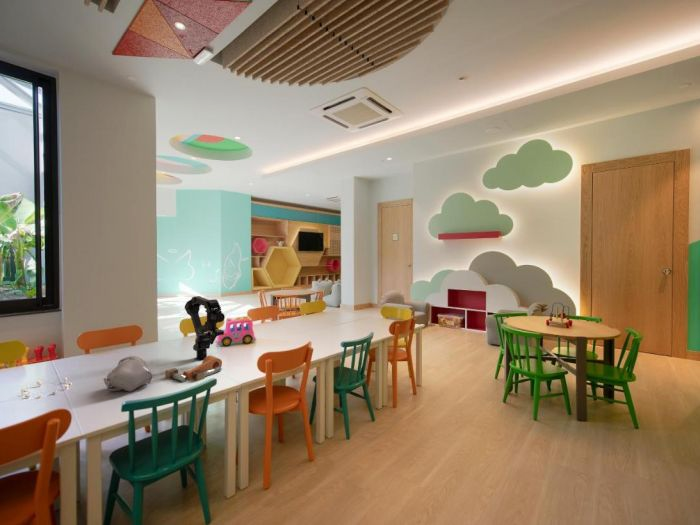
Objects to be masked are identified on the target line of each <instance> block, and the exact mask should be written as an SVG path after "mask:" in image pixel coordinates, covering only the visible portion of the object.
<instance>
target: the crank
mask: <svg viewBox="0 0 700 525" xmlns="http://www.w3.org/2000/svg"><path fill="white" fill-rule="evenodd" d="M222 365H223V361H222V359H221V358H219V357H215V356H213V355H207V357H205V358H204V359H203V360H202V363H200V364H199V365H198V366H195V367H194V368H191V369H189V370H183V372H182V375H183V376H186V377H187V380H188V381H189V380H193V379H192V372H194V371H197V370H201V371H206V370H209V369H212V368H215V367H218V366H221V367H222Z"/></svg>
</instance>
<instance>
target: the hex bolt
mask: <svg viewBox="0 0 700 525" xmlns="http://www.w3.org/2000/svg"><path fill="white" fill-rule="evenodd" d="M164 371H165V372H164V374H165V376H164V378H165V379H168V380H171V379H174V380H177V381H179V382H182V383H184V382H186V381H187V380H188V379H187V377H186V376H183V374H180V373H179V369H178V368H175V367H173V368H169V369H166V370H164Z"/></svg>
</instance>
